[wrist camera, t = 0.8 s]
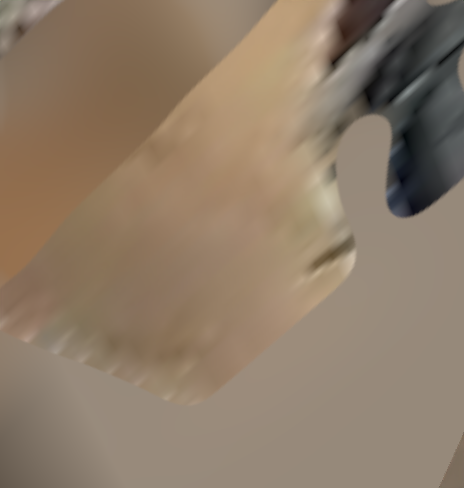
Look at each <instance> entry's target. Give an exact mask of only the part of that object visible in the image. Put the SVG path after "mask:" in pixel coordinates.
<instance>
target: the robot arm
mask: <svg viewBox="0 0 464 488" xmlns="http://www.w3.org/2000/svg"><path fill="white" fill-rule="evenodd" d="M439 488H464V434H463V436H462V438H461V440H460V442H459V444H458V447H457V449H456V451H455V453H454V455H453V458H452V460H451V462H450V464H449V466H448V469H447V471H446V473H445V475H444V477H443V480H442V482H441V484H440V486H439Z"/></svg>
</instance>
